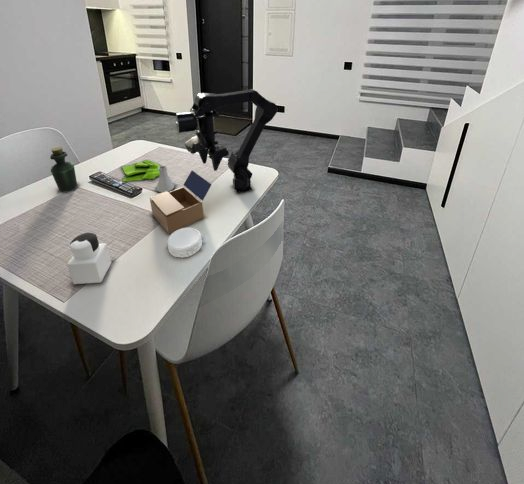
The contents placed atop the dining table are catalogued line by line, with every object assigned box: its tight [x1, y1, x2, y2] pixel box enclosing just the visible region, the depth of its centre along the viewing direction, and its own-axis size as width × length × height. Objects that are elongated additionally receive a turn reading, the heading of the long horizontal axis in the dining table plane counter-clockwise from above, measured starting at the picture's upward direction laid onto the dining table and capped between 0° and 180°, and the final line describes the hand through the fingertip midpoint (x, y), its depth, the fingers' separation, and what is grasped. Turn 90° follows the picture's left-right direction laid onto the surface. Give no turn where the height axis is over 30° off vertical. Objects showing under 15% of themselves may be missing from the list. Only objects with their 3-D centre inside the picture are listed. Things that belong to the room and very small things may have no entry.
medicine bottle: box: [66, 232, 112, 285], centre depth 76 cm, size 7×7×12 cm
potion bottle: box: [49, 146, 78, 193], centre depth 117 cm, size 8×8×18 cm
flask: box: [155, 165, 175, 193], centre depth 118 cm, size 7×7×10 cm
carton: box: [149, 186, 205, 235], centre depth 101 cm, size 13×14×7 cm
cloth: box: [121, 159, 161, 182], centre depth 134 cm, size 20×22×2 cm
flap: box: [183, 169, 212, 202], centre depth 104 cm, size 6×14×1 cm
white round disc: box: [167, 226, 203, 259], centre depth 87 cm, size 10×10×4 cm
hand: (209, 166), depth 109 cm, fingers open, 8 cm apart
